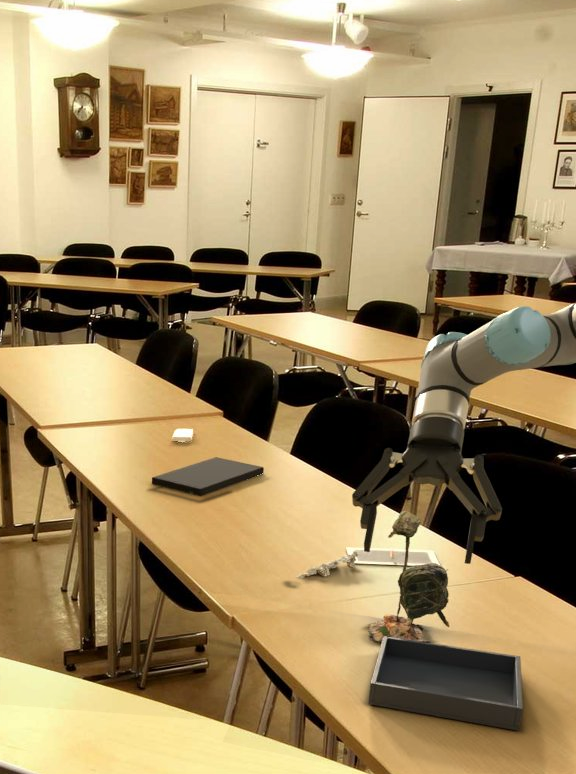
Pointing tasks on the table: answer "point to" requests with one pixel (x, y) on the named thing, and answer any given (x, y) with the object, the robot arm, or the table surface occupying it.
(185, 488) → the dark grey flat slab
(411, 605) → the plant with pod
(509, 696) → the tray
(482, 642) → the table surface
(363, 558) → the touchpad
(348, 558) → the lizard figurine
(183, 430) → the white flat block
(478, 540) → the robot arm
